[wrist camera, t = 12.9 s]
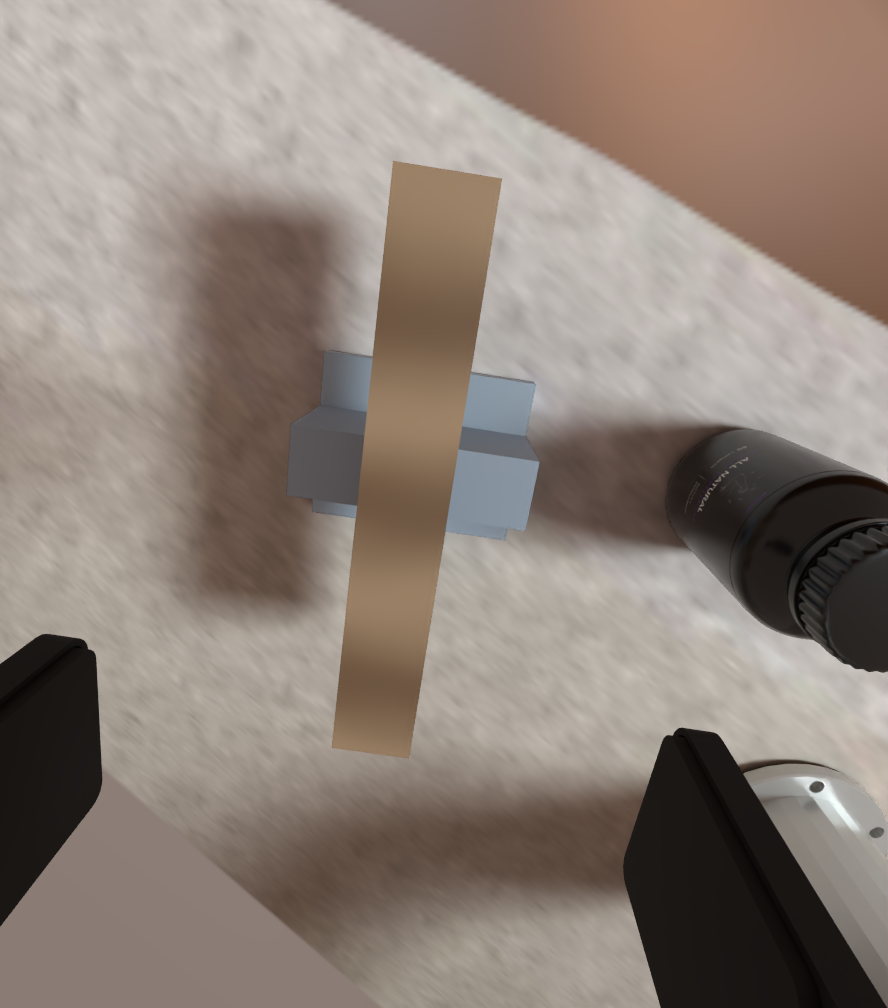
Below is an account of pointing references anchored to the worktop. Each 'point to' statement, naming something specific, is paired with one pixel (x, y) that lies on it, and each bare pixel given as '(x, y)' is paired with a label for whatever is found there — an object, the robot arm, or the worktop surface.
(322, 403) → the fulcrum
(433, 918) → the worktop surface
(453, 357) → the walnut bar
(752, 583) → the supplement bottle
